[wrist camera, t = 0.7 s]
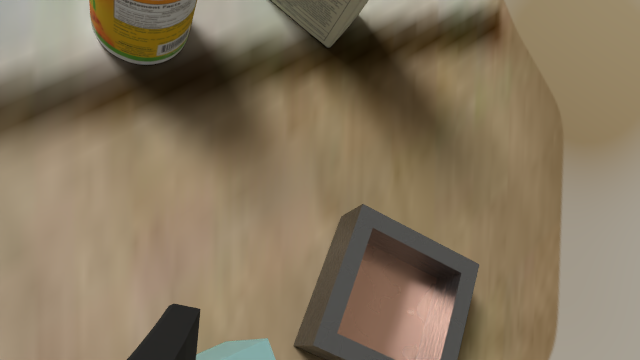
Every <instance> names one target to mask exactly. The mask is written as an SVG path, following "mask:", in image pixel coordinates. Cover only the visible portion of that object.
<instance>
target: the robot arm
mask: <svg viewBox="0 0 640 360" xmlns="http://www.w3.org/2000/svg"><path fill="white" fill-rule="evenodd" d="M199 318H200V309H198V308H193V307H188V306H183V305H178V304H172V305H170V306H168V308H167V309H166V311H165V312H164V314H163V315H162V316H161V318H160V319H159V321H158V322H157V323H156V325H155V326H154V327H153V329H152V330H151V331H150V332H149V334H148V335H147V336H146V337H145V339H144V340H143V341H142V342H141V344H140V345H139V346H138V347H137V348H136V350H135V351H134V352H133V353H132V354H131V356H130V357H129V358H128V359H127V360H196V352H197V341H198V329H199Z"/></svg>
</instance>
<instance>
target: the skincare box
mask: <svg viewBox="0 0 640 360" xmlns="http://www.w3.org/2000/svg"><path fill="white" fill-rule="evenodd" d="M271 1H272V2H274V3H275V4H276V5H277V6H278V7H279V8H281V9H282V10H283V11H284V12H285V13H286V14H288V15H289V16H290V17H291V18H292V19H294V20H295V21H296V22H297V23H298V24H299V25H301V26H302V27H303V28H304V29H305V30H307V31H308V32H309V33H310V34H311V35H313V36H314V37H315V38H316V39H318V40H319V41H320V42H321V43H323V44H324V45H325V46H326V47H328V48H329V47H331V46H332V45H333V44H334V43H335V42H336V40H337V39H338V38H339V37H340V36H341V35H342V34H343V33H344V31H345V30H346V29H347V28H348V27H349V26H350V24H351V23H352V22H353V21H354V19H355V18H356V17H357V16H358V14H359V13H360V12H361V10H362V9H363V7H364V6H365V4H366V3H367V2H368V0H271Z"/></svg>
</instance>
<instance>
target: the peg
mask: <svg viewBox="0 0 640 360" xmlns="http://www.w3.org/2000/svg"><path fill="white" fill-rule="evenodd" d="M196 360H275V357H274V354H273V352H272V349H271V346H270V344H269V341H268V338H267V339H254V340H241V341H227V342H224V343H221V344H219V345H217V346H215V347H212V348H210V349H208V350H206V351H203V352H201V353H199V354H197V355H196Z"/></svg>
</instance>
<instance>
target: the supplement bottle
mask: <svg viewBox="0 0 640 360" xmlns="http://www.w3.org/2000/svg"><path fill="white" fill-rule="evenodd" d="M89 2H90V17H91V24H92V28H93V31H94V33H95V35H96V37H97V39H98V40H99V42H100V43H101V44H102V45H103V46H104V47H105V48H106V49H107V50H108V51H109V52H110V53H112V54H113V55H115V56H116V57H118V58H120V59H122V60H125V61H128V62H131V63H135V64H142V65H152V64H158V63H162V62H164V61H167V60H169V59H171V58H173V57H174V56H175V55H177V54H178V53H179V52H180V51H181V50H182V48H183V47H184V45H185V43H186V41H187V38H188V35H189V32H190V28H191V24H192V19H193V15H194V11H195V7H196V3H197V0H89Z"/></svg>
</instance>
